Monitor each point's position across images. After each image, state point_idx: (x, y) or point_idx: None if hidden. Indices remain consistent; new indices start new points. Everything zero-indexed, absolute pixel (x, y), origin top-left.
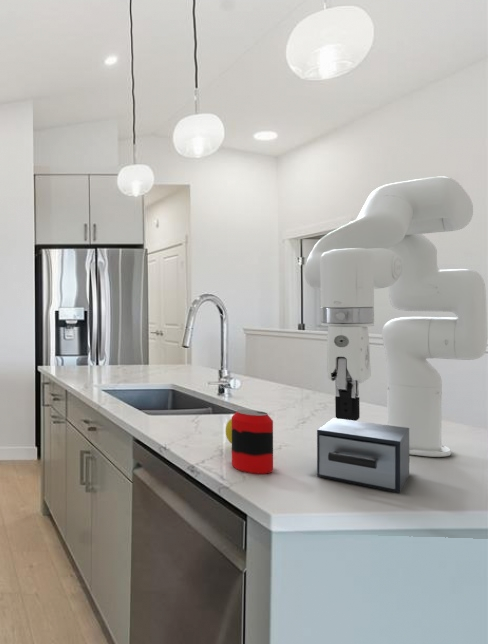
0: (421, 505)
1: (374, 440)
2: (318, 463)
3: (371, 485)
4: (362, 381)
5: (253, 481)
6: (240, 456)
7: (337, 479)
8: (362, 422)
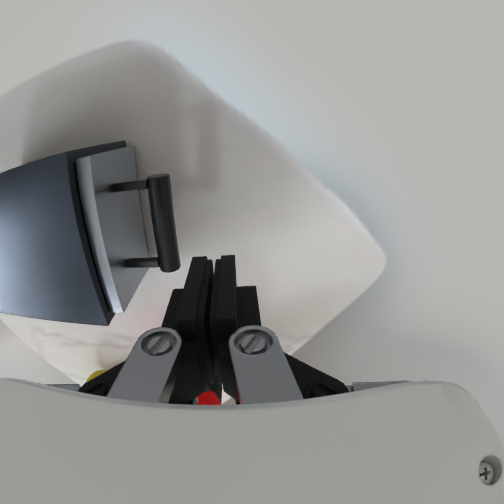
0: (172, 98)
1: (78, 207)
2: None
3: None
4: (433, 382)
5: (262, 325)
6: None
7: None
8: None
